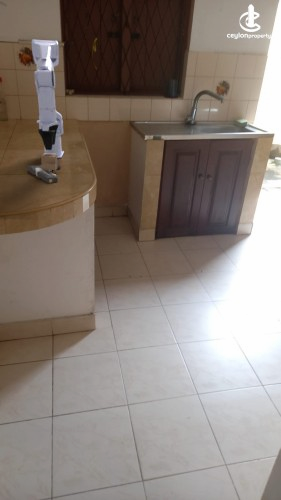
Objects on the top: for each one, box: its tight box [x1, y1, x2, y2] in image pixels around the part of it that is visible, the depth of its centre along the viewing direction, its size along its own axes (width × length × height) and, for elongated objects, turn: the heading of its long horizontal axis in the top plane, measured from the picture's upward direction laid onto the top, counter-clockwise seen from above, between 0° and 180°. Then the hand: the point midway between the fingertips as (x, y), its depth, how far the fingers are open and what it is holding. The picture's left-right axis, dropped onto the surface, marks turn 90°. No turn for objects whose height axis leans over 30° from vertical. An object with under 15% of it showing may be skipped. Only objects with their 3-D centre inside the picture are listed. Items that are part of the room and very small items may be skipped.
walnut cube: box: [40, 152, 59, 171], centre depth 133 cm, size 5×5×5 cm
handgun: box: [27, 162, 61, 184], centre depth 134 cm, size 2×18×12 cm
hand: (50, 147), depth 131 cm, fingers open, 7 cm apart
